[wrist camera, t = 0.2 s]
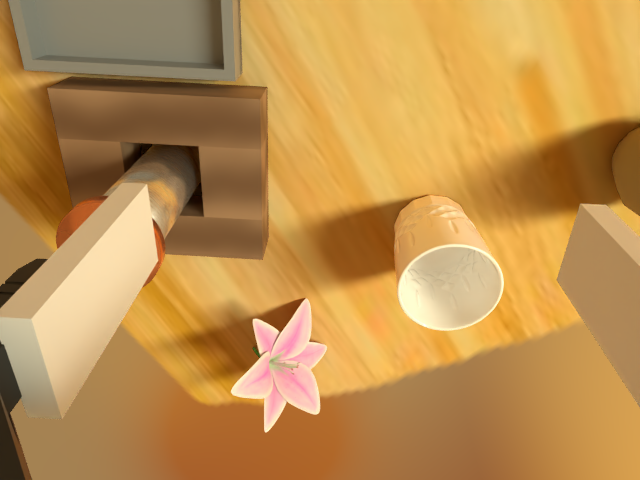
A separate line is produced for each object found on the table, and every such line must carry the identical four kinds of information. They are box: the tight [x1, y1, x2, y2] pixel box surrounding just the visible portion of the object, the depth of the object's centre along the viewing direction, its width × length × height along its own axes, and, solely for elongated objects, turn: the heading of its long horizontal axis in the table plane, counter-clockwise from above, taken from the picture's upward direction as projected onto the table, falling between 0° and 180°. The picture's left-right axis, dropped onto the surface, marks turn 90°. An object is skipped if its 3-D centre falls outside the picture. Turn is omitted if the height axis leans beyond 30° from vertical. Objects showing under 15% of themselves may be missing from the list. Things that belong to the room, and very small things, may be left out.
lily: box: [231, 299, 327, 432], centre depth 51 cm, size 12×12×10 cm
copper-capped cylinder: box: [56, 144, 201, 287], centre depth 38 cm, size 6×6×15 cm
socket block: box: [47, 77, 269, 260], centre depth 43 cm, size 14×16×4 cm
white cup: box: [394, 195, 504, 331], centre depth 43 cm, size 8×8×10 cm
